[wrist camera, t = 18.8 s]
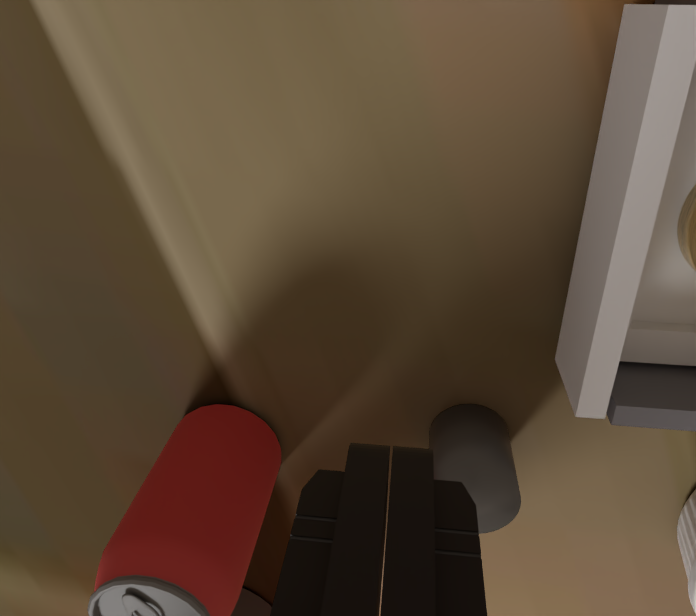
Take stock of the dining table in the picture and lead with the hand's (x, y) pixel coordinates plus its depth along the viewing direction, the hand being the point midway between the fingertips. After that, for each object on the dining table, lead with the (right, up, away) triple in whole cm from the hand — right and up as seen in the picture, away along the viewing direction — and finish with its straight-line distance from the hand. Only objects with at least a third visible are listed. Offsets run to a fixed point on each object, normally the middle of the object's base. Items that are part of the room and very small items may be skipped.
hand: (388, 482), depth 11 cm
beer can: (-8, -5, +25) cm, 27 cm away
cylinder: (+6, -4, +23) cm, 24 cm away
